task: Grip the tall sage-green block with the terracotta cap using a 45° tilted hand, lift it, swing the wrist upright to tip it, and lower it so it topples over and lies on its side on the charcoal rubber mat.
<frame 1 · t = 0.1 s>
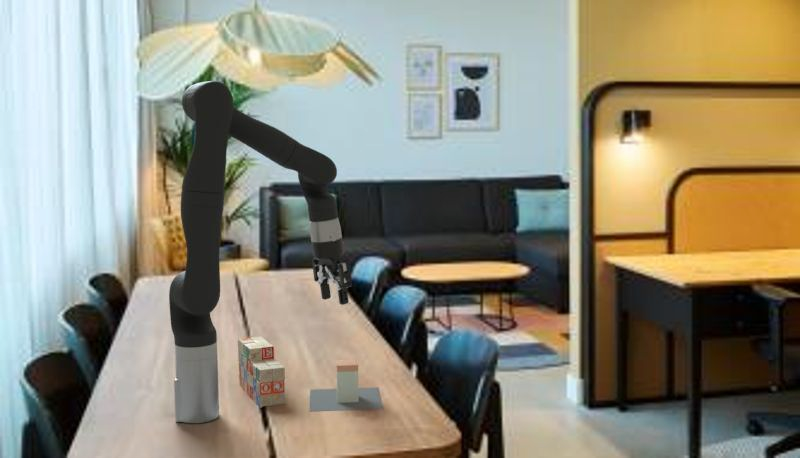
hand: (335, 301, 209), 22 cm above the table, tool pointing down, fingers open, 8 cm apart
charcoal mat: (345, 400, 203), on the table
sage block: (347, 399, 202), resting on charcoal mat
stack of blocks: (261, 395, 208), on the table
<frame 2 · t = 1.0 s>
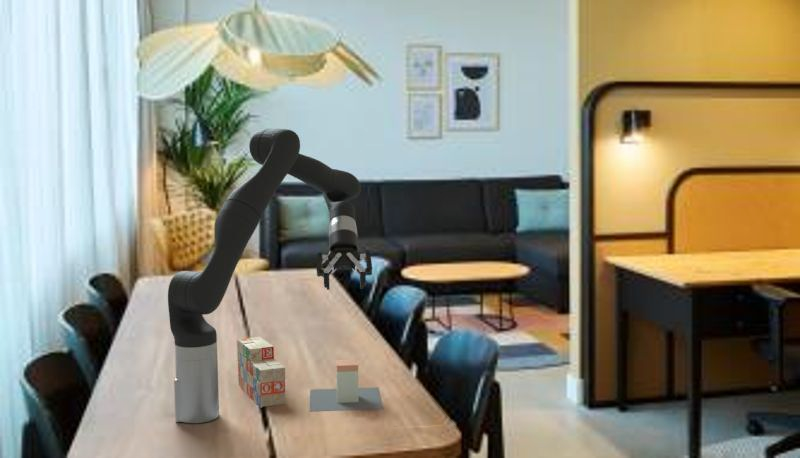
hand: (345, 287, 214), 25 cm above the table, tool tilted 45°, fingers open, 8 cm apart
nothing on the table moved.
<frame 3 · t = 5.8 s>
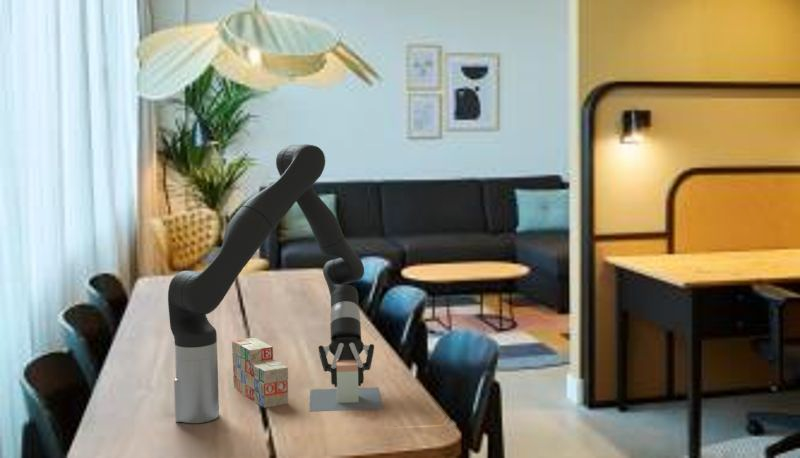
hand: (347, 384, 200), 5 cm above the table, tool tilted 45°, fingers closed on sage block, 5 cm apart
sage block: (347, 399, 202), resting on charcoal mat, touching gripper
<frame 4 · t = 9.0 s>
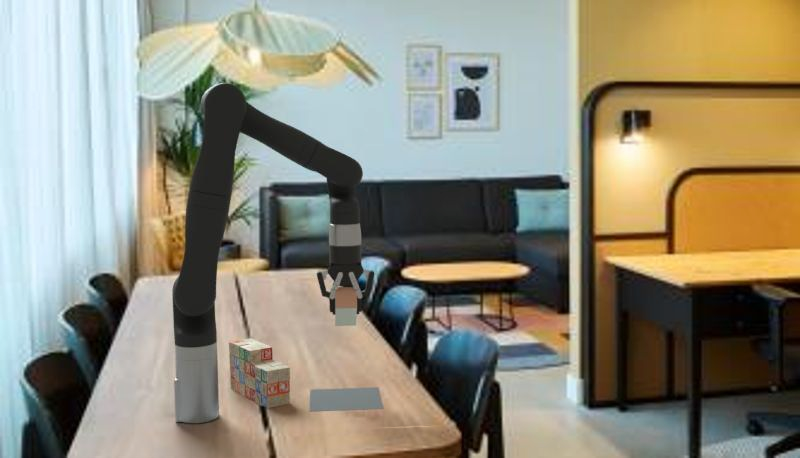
hand: (346, 313, 200), 21 cm above the table, tool pointing down, fingers closed on sage block, 5 cm apart
sage block: (345, 316, 204), point 20 cm above the table, tilted 45°, touching gripper
when the fingers open (5 cm above the table, at t = 13.3 s): sage block moves 2 cm and tips over, resting on charcoal mat.
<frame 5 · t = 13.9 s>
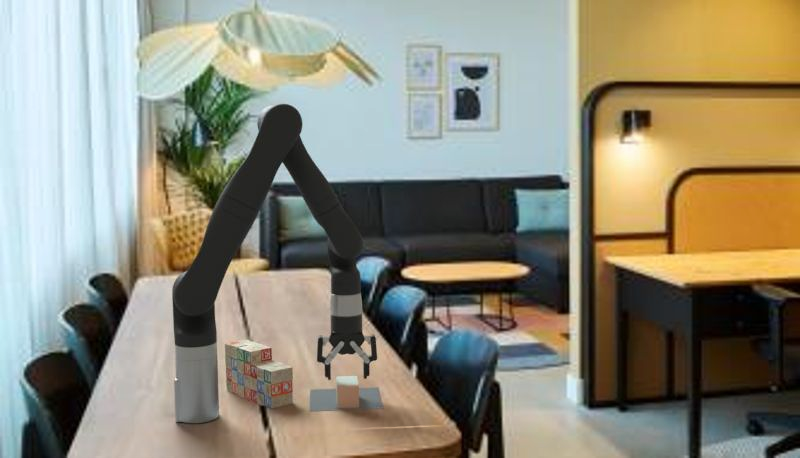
hand: (347, 378, 202), 6 cm above the table, tool pointing down, fingers open, 8 cm apart
sage block: (346, 386, 204), point 3 cm above the table, tilted 90°, touching charcoal mat
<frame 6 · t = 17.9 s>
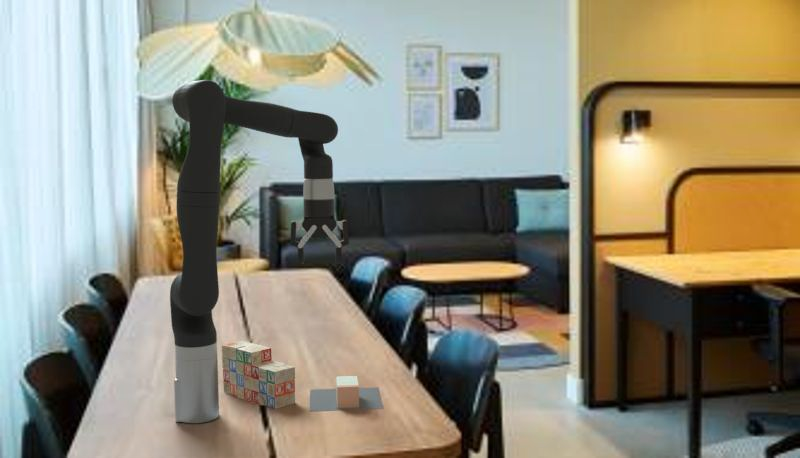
hand: (320, 262, 208), 32 cm above the table, tool pointing down, fingers open, 8 cm apart
at the end: sage block tilted 90°; sage block inside the target area (1.8 cm from its centre), point 2.9 cm above the table; the gripper is holding nothing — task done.
